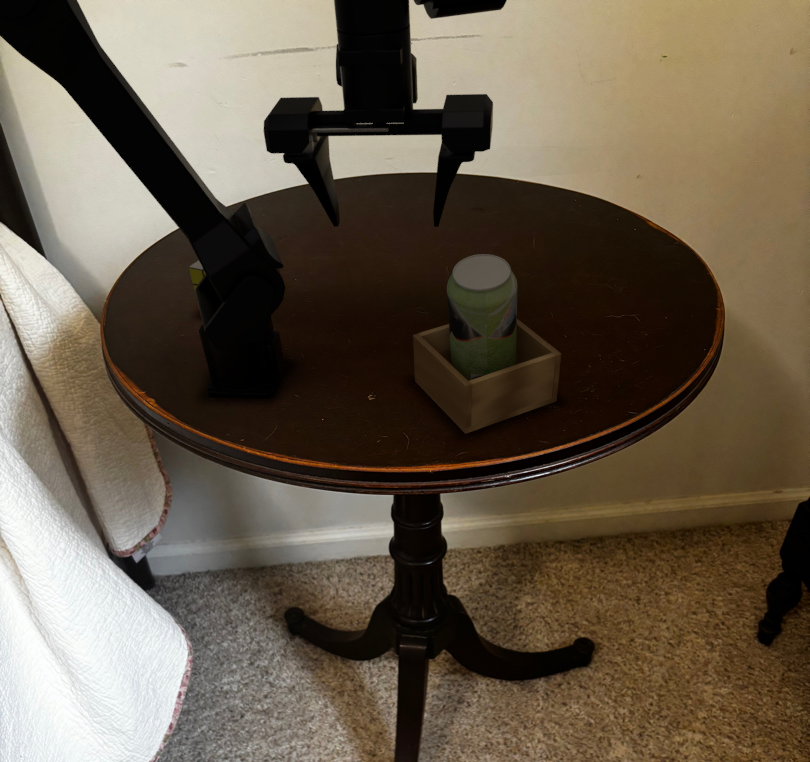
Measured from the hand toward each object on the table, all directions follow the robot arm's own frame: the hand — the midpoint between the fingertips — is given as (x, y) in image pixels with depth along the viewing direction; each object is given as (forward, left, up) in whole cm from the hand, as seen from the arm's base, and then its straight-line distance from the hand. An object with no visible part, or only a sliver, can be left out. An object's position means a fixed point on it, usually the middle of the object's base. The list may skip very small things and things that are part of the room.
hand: (386, 224), depth 73 cm
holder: (+9, -7, -13) cm, 18 cm away
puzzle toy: (-19, +8, -13) cm, 24 cm away
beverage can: (+9, -6, -13) cm, 17 cm away
